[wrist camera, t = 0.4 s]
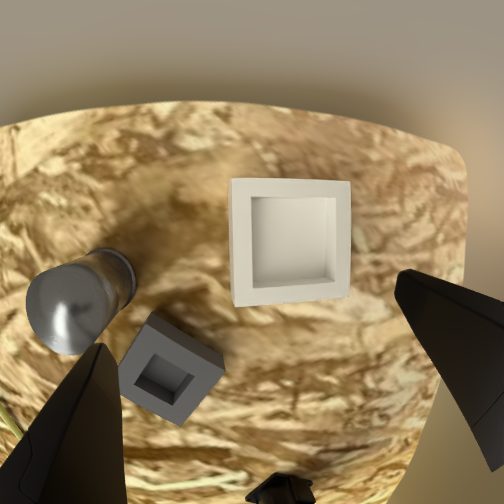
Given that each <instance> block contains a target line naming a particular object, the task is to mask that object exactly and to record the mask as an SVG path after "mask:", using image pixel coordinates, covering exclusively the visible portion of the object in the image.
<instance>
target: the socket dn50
mask: <svg viewBox="0 0 504 504" xmlns="http://www.w3.org/2000/svg"><path fill="white" fill-rule="evenodd" d="M228 215H229V256H230V287H231V298H232V301H233V303H234V306H235V307H245V306H259V305H272V304H284V303H296V302H306V301H317V300H326V299H336V298H345V297H349V287H350V263H351V190H350V181H335V180H316V179H288V178H231V180H230V181H229V182H228Z"/></svg>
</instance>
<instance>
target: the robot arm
mask: <svg viewBox="0 0 504 504" xmlns="http://www.w3.org/2000/svg"><path fill="white" fill-rule="evenodd" d="M394 295H395V299H396V301H397V303H398V305H399V306H400V308H401V310H402V312H403V314H404V316H405V317H406V319H407V321H408V323H409V325H410V327H411V329H412V330H413V332H414V334H415V336H416V337H417V339H418V341H419V342H420V344H421V345H422V347H423V348H424V350H425V351H426V353H427V354H428V356H429V358H430V359H431V361H432V362H433V364H434V366H435V367H436V369H437V371H438V372H439V374H440V375H441V377H442V379H443V380H444V382H445V384H446V385H447V387H448V389H449V391H450V392H451V394H452V396H453V397H454V399H455V401H456V403H457V405H458V406H459V408H460V410H461V412H462V414H463V416H464V417H465V419H466V421H467V423H468V425H469V427H470V428H471V431H472V433H473V435H474V437H475V439H476V441H477V443H478V445H479V447H480V449H481V451H482V453H483V455H484V457H485V459H486V462H487V464H488V466H489V468H490V470H491V472H494V471H495V470H497V469H498V468H500V467H501V466H503V465H504V302H501V301H500V300H497V299H494V298H492V297H489V296H486V295H484V294H481V293H478V292H475V291H473V290H470V289H467V288H464V287H462V286H459V285H456V284H453V283H450V282H448V281H445V280H442V279H439V278H436V277H433V276H430V275H427V274H425V273H422V272H419V271H416V270H413V269H406V270H403V271H401V272H399V274H398V276H397V281H396V286H395V291H394ZM312 485H313V483H312V481H310V480H305V479H300V478H295V477H291V476H286V475H282V474H278V473H276V474H273V475H272V476H271V477H270V478H268V479H267V480H266V481H265V482H264V483H263V484H261V485H260V486H259V487H258V488H256V489H255V490H254V491H253V492H251V493H250V494H249V495H248V496H246V497H245V500H246V501H247V502H251V503H256V504H314V503H316V500H315V498H314V496H313V493H312V491H311V489H310V487H311V486H312ZM0 504H128V503H127V495H126V485H125V473H124V458H123V433H122V407H121V398H120V387H119V375H118V366H117V363H116V360H115V359H114V357H113V356H112V354H111V352H110V351H109V349H108V347H107V346H106V344H104V343H95V344H91V345H90V346H89V347H88V348H87V350H86V351H85V352H84V354H83V355H82V356H81V357H80V359H79V360H78V361H77V362H76V364H75V365H74V366H73V368H72V369H71V370H70V371H69V373H68V374H67V375H66V377H65V378H64V379H63V381H62V382H61V383H60V385H59V386H58V387H57V389H56V390H55V391H54V393H53V394H52V395H51V397H50V398H49V400H48V401H47V402H46V404H45V405H44V406H43V408H42V409H41V411H40V412H39V413H38V415H37V416H36V418H35V419H34V421H33V422H32V423H31V425H30V426H29V428H28V431H26V432H25V434H24V435H23V437H22V438H21V440H20V441H19V442H18V444H17V445H16V447H15V448H14V450H13V451H12V453H11V454H10V455H9V457H8V458H7V459H6V461H5V462H4V463H3V465H2V466H1V467H0Z"/></svg>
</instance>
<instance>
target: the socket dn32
mask: <svg viewBox="0 0 504 504" xmlns="http://www.w3.org/2000/svg"><path fill="white" fill-rule="evenodd" d="M225 371H226V370H225V365H224V360H223V355H221V354H219V353H218V352H216V351H214V350H213V349H211V348H209V347H207V346H206V345H204V344H202V343H201V342H199V341H197V340H196V339H194V338H192V337H191V336H189V335H187V334H186V333H184V332H182V331H181V330H179V329H178V328H176V327H174V326H173V325H171V324H170V323H168V322H167V321H165V320H164V319H162V318H160V317H159V316H157V315H156V314H154V313H153V312H151V313H150V315H149V317H148V318H147V320H146V321H145V323H144V324H143V326H142V328H141V329H140V331H139V332H138V334H137V336H136V337H135V339H134V340H133V342H132V344H131V345H130V347H129V349H128V350H127V352H126V353H125V355H124V357H123V358H122V360H121V362H120V363H119V365H118V375H119V387H120V395H122V396H124V397H125V398H127V399H129V400H130V401H132V402H134V403H136V404H137V405H139V406H141V407H143V408H145V409H147V410H148V411H150V412H152V413H154V414H156V415H158V416H160V417H162V418H164V419H166V420H168V421H170V422H172V423H174V424H176V425H178V426H181V425H182V424H183V423H184V422H185V421H186V419H187V418H188V417H189V416H190V415H191V413H192V412H193V411H194V410H195V409H196V407H197V406H198V405H199V404H200V402H201V401H202V400H203V399H204V398H205V396H206V395H207V394H208V393H209V391H210V390H211V389H212V388H213V386H214V385H215V384H216V383H217V381H218V380H219V379H220V378H221V376H222V375H223V374H224V372H225Z"/></svg>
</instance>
